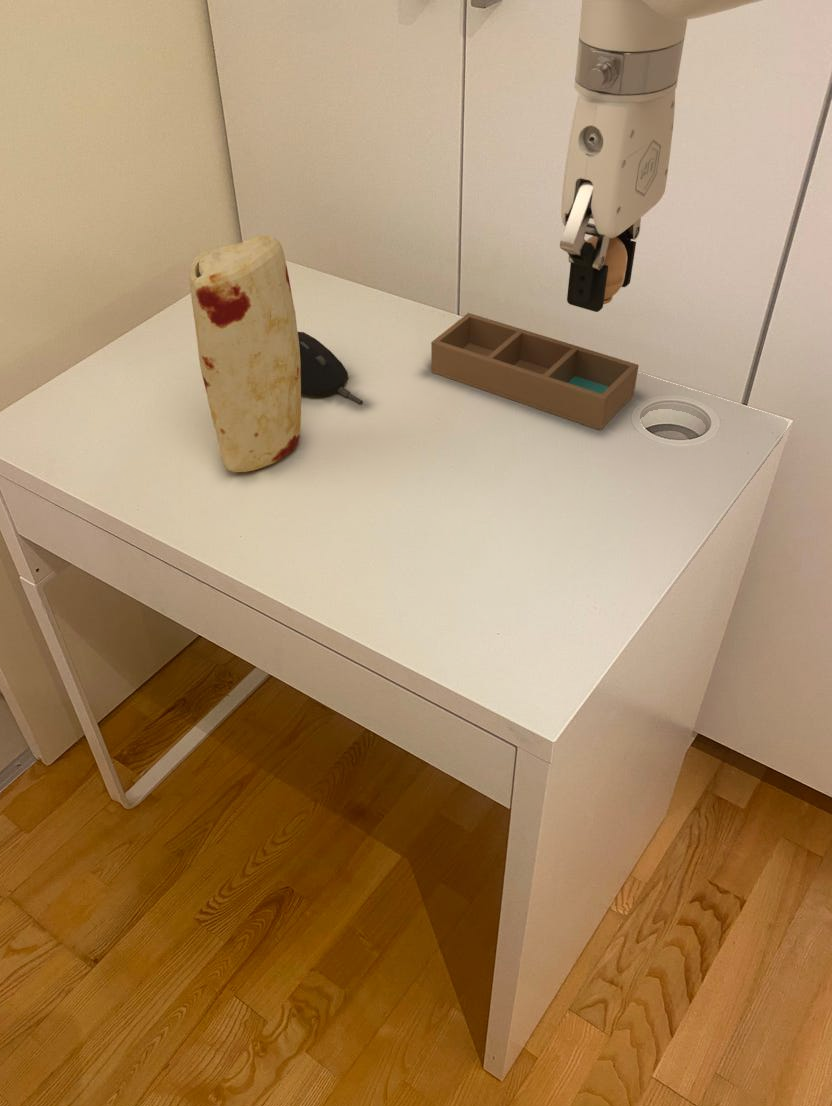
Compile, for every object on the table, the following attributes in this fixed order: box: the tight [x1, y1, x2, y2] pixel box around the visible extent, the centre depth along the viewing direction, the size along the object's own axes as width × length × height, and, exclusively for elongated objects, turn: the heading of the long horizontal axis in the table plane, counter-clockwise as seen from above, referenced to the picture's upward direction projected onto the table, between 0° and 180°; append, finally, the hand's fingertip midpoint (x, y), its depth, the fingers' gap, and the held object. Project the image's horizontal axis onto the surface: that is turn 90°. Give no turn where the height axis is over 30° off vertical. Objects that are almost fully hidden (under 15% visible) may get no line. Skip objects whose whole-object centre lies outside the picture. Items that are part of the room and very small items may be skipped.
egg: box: [585, 235, 627, 305], centre depth 85 cm, size 4×4×6 cm
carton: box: [430, 312, 640, 431], centre depth 96 cm, size 7×19×3 cm, turn 52°
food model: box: [188, 235, 302, 473], centre depth 85 cm, size 10×7×20 cm
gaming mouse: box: [298, 331, 364, 405], centre depth 99 cm, size 6×15×4 cm, turn 46°
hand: (598, 292), depth 87 cm, fingers closed on egg, 4 cm apart
